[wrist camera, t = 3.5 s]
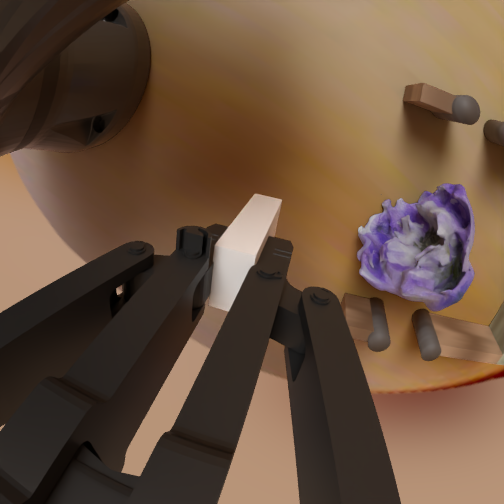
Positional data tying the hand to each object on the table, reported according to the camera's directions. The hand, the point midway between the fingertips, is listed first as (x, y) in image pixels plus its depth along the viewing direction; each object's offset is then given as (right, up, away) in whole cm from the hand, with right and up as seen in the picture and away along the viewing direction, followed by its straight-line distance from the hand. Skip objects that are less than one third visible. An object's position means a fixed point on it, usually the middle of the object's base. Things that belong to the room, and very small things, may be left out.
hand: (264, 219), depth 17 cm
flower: (+13, 0, +6) cm, 14 cm away
